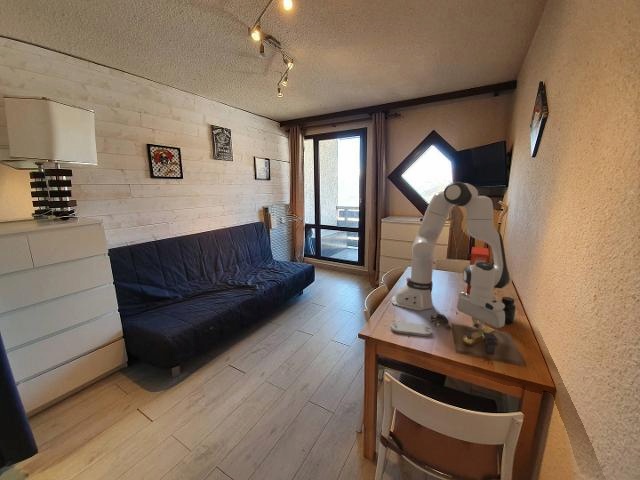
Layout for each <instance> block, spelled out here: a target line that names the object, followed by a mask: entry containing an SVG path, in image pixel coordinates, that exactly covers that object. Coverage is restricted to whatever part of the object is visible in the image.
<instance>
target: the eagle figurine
mask: <svg viewBox="0 0 640 480" xmlns="http://www.w3.org/2000/svg"><path fill="white" fill-rule="evenodd" d="M433 313H434V315H435V317H434V315H432V314H431V315H430V316H428V318H429V319H430V320H431V321H430V322H431V324H433V323H436V325H437V327H436V328H439V327H440V324H441V325H443V326H444V327H445V328H446V329H447V330H452V326H450V325H449V324H450V323H449V319H448V317H446V316H445V315H444V314H440V313H438V314H436V313H435V312H433Z"/></svg>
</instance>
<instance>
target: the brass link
mask: <svg viewBox="0 0 640 480" xmlns="http://www.w3.org/2000/svg"><path fill="white" fill-rule="evenodd" d="M495 331H496V329H494V328H492V327H489V326H486V327H484V328H482V330H479V331H477V332H475V333H472V332H471V331H468V332H467V335H466V336H464V337H463V343H464V344H465V345H467V346H474V344H476V343H478V342H480V341H483V340H484V339H483V336H482V334H483V332H484V333H490V334H494V335H495Z"/></svg>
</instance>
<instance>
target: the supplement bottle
mask: <svg viewBox="0 0 640 480" xmlns="http://www.w3.org/2000/svg"><path fill="white" fill-rule="evenodd" d="M501 302H502V303H503V304H504V305H505V308H504V309H503V310H504V312H505V324H504V325H513V324H514V323H515V317H516V316H515V315H516V310H517V305H516V304H515V298H513V297H509V296H502V298H501Z"/></svg>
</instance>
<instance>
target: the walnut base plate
mask: <svg viewBox="0 0 640 480" xmlns="http://www.w3.org/2000/svg"><path fill="white" fill-rule="evenodd" d="M482 329H483V328H482ZM482 329H478V328H476V327H474V326H470V325H464V324H463V325H462V324H456V323H451V330H452V336H453V337H452V338H453V342H454V343H453V344H454V350H455V354H461V355H465V356H471V357H475V358H479V359H486V360H490V361H495V362H500V363H505V364H510V365H516V366H521V367H526V361H525V359H524V358H523V356H522V353H521V352H520V350H519V348H518V346H517V344H516V343H515V341H514V339H513V337H512V335H511V334H510V332H506V331H499V330H495V337H496V340H497V342H498V346H495V350H494V355H493V354H488V353H486V350H485V348H486V344H485V342H484V340H483V341H480V342H478V343H476V344H474V346H467V345H465V344H464V343H463V337H464V336H466V335H467V332H468V331H471V332H472V333H475V332H477V331H479V330H482Z"/></svg>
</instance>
